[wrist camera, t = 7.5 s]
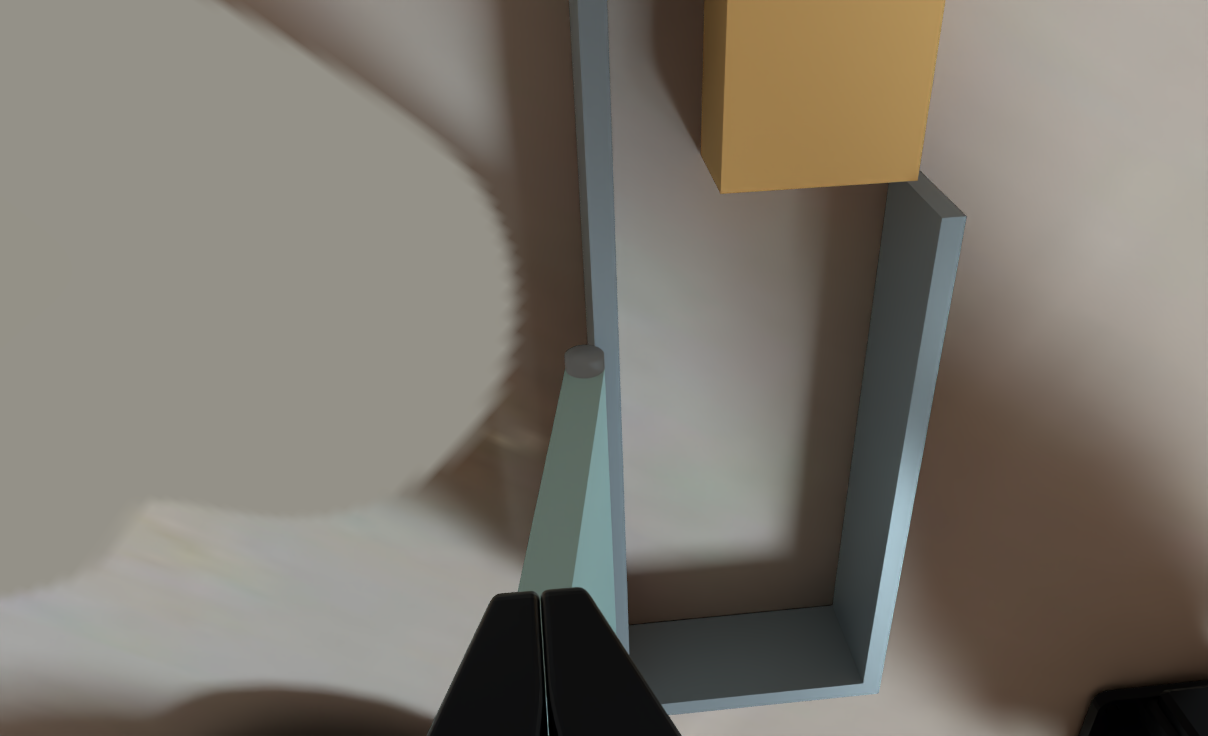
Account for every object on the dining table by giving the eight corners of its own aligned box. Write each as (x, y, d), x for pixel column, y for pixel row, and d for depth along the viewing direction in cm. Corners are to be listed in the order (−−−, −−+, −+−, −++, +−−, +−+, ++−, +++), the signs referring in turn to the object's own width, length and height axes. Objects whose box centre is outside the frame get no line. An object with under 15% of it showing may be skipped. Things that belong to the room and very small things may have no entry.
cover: (592, 1069, 19) (532, 1064, 19) (620, 709, 26) (577, 706, 26) (554, 681, 12) (463, 678, 12) (605, 344, 19) (547, 344, 19)
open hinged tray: (846, 615, 29) (878, 693, 27) (604, 639, 29) (613, 720, 26) (971, -234, 17) (1049, -232, 15) (557, -215, 17) (566, -210, 14)
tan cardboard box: (876, 139, 21) (917, 180, 19) (698, 150, 21) (720, 193, 19) (907, -111, 18) (960, -95, 16) (704, -102, 18) (730, -84, 16)
